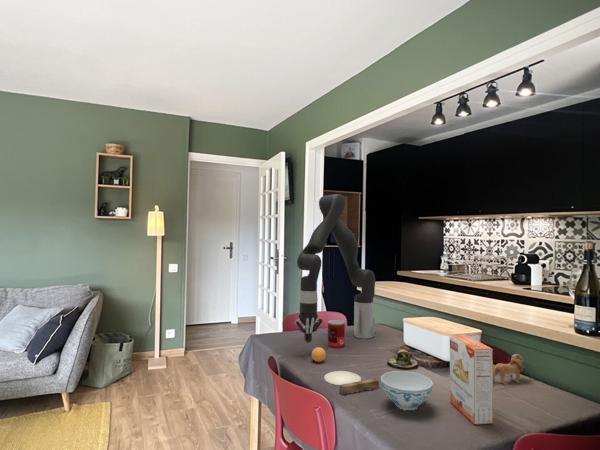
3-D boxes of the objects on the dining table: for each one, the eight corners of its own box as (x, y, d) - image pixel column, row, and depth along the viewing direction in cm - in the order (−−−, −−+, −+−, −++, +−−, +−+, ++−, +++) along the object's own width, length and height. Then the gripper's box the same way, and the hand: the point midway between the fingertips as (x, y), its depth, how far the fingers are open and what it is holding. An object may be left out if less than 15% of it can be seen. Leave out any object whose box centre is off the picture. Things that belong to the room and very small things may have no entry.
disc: (348, 369, 145) (348, 369, 145) (368, 382, 133) (368, 381, 133) (318, 374, 140) (318, 374, 140) (335, 388, 128) (335, 387, 128)
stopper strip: (375, 385, 130) (375, 378, 130) (378, 388, 129) (378, 380, 129) (339, 392, 125) (339, 384, 125) (342, 395, 123) (342, 387, 123)
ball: (321, 358, 158) (321, 344, 158) (328, 362, 153) (328, 348, 153) (309, 360, 155) (309, 346, 156) (315, 364, 150) (315, 350, 150)
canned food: (344, 343, 179) (344, 319, 179) (344, 348, 171) (344, 323, 171) (328, 342, 180) (328, 319, 180) (327, 347, 172) (327, 323, 172)
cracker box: (448, 402, 118) (448, 334, 118) (467, 401, 119) (467, 334, 119) (472, 425, 104) (472, 348, 104) (494, 424, 105) (494, 347, 105)
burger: (382, 366, 150) (382, 347, 150) (394, 358, 159) (394, 340, 160) (412, 373, 143) (412, 353, 143) (422, 364, 152) (422, 345, 152)
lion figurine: (514, 376, 140) (514, 351, 140) (528, 381, 135) (528, 355, 135) (486, 382, 134) (486, 357, 134) (500, 388, 129) (500, 361, 129)
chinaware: (375, 395, 123) (375, 371, 123) (420, 394, 124) (420, 370, 124) (389, 418, 108) (389, 391, 108) (441, 417, 109) (441, 389, 109)
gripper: (318, 298, 169) (317, 338, 169) (290, 300, 164) (290, 341, 164) (326, 301, 162) (325, 342, 162) (297, 303, 157) (297, 346, 157)
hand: (307, 342), depth 163 cm, fingers closed
